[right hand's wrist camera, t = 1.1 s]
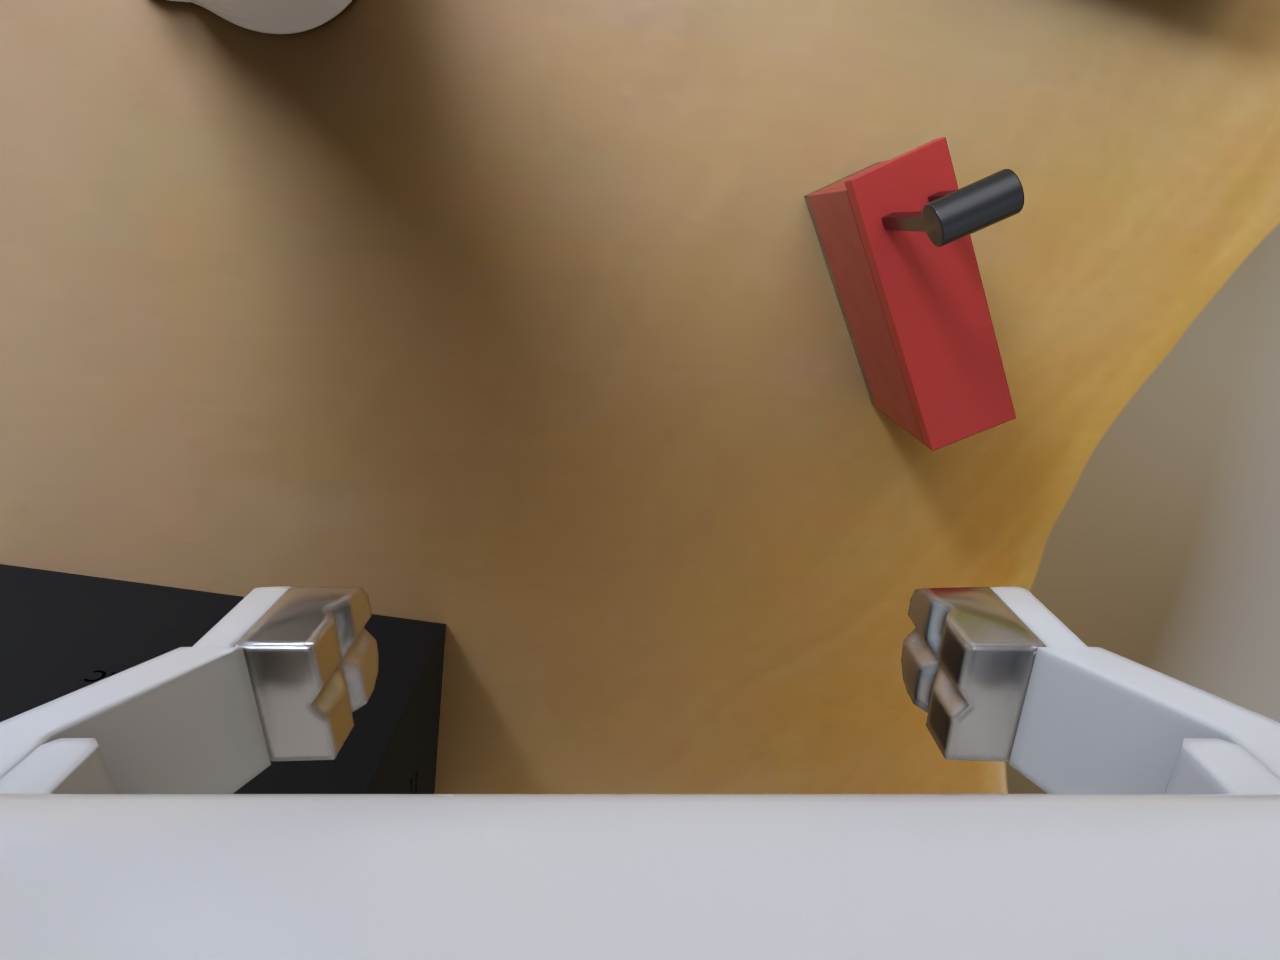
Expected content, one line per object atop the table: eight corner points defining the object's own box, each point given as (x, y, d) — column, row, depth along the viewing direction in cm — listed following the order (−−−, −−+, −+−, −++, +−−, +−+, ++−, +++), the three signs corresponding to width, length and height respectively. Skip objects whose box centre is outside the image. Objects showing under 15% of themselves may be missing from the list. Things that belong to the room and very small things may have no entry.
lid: (843, 181, 36) (905, 169, 28) (935, 139, 36) (1028, 113, 27) (924, 445, 42) (997, 502, 33) (1006, 412, 41) (1101, 462, 32)
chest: (804, 196, 46) (845, 189, 37) (876, 162, 45) (937, 147, 36) (872, 404, 51) (923, 445, 42) (938, 377, 50) (1005, 412, 41)
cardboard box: (445, 624, 57) (-80, 1725, 15) (433, 804, 65) (51, 1891, 23) (-19, 561, 55) (-2108, 1649, 13) (22, 755, 62) (-1249, 1860, 20)
